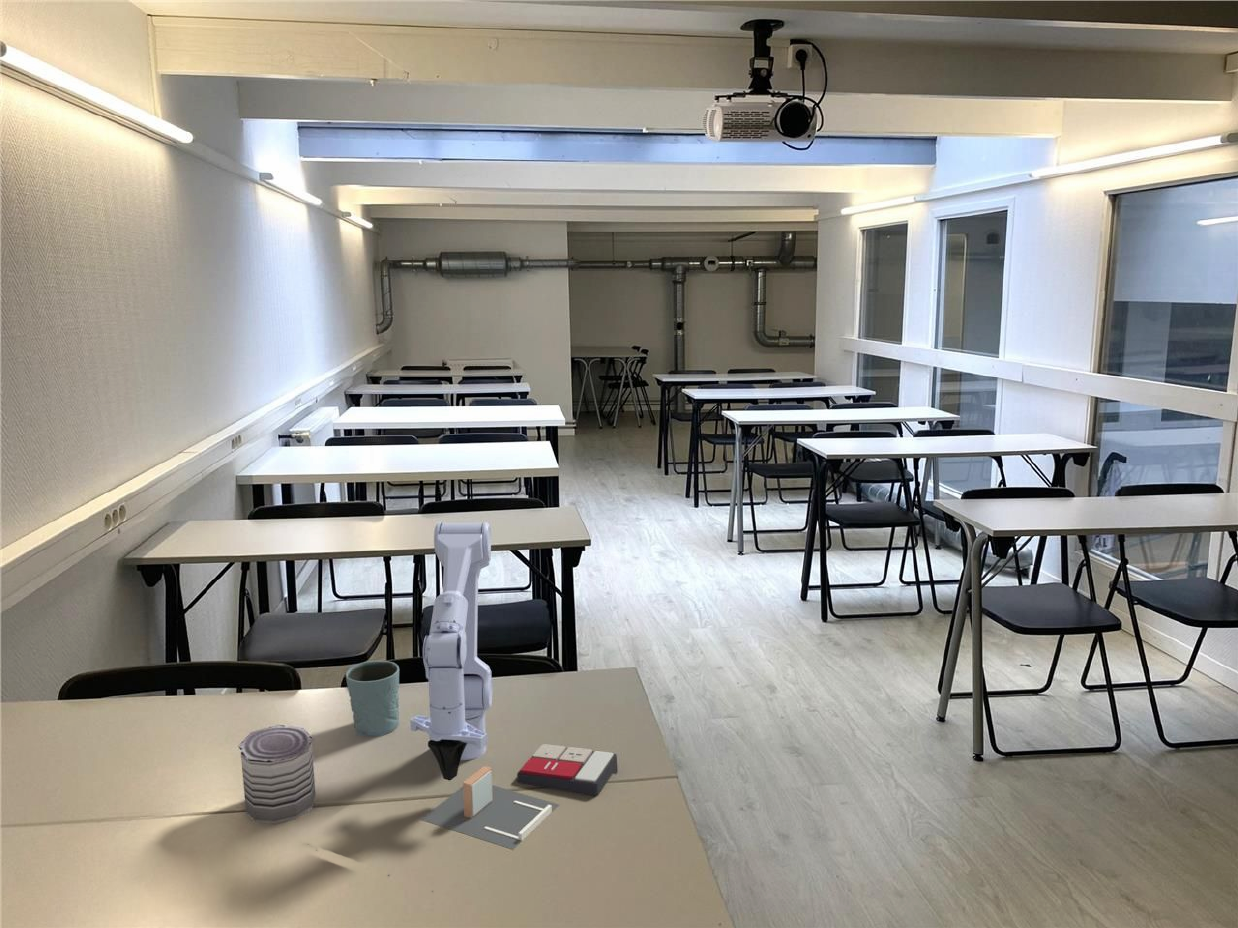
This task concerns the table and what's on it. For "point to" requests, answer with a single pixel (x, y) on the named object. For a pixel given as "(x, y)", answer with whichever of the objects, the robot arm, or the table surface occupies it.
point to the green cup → (374, 697)
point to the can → (278, 773)
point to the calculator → (569, 769)
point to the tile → (477, 791)
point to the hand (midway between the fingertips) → (450, 776)
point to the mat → (494, 816)
